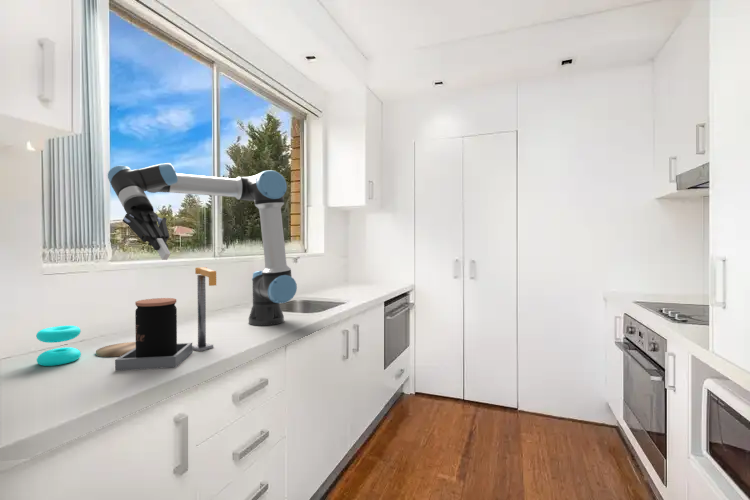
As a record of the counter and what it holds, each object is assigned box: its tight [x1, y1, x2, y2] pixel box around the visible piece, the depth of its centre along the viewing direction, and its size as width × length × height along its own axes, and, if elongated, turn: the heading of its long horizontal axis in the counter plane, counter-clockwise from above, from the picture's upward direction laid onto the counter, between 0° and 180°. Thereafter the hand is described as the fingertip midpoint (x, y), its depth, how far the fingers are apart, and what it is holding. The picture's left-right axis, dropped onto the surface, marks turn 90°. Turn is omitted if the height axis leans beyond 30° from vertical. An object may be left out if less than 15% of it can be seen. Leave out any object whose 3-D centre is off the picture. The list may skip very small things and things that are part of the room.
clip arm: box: [194, 266, 217, 287], centre depth 117 cm, size 22×4×4 cm, turn 34°
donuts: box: [36, 325, 82, 367], centre depth 111 cm, size 10×10×10 cm
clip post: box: [192, 274, 214, 352], centre depth 125 cm, size 5×5×24 cm
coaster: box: [95, 341, 136, 358], centre depth 123 cm, size 15×15×1 cm
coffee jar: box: [134, 297, 178, 358], centre depth 112 cm, size 11×11×18 cm
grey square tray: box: [114, 342, 193, 372], centre depth 112 cm, size 15×15×3 cm
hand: (166, 256), depth 113 cm, fingers closed
